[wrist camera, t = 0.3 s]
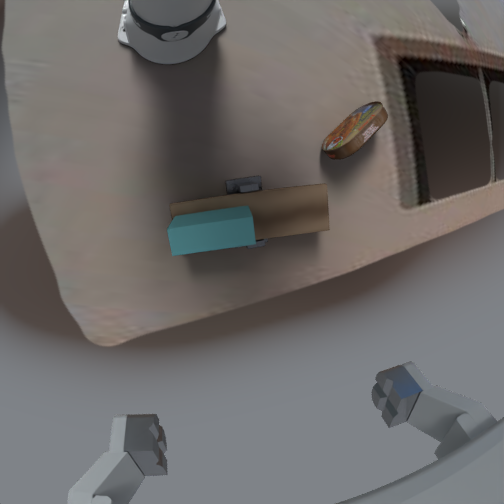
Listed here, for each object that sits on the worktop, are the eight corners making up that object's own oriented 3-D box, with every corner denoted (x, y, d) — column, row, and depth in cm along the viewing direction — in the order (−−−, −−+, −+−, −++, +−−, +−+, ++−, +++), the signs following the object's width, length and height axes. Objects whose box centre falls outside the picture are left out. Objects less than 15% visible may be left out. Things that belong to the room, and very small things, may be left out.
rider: (175, 216, 50) (167, 229, 43) (248, 205, 51) (252, 216, 43) (179, 239, 52) (172, 256, 44) (251, 229, 52) (255, 244, 45)
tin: (363, 102, 54) (388, 98, 47) (372, 114, 56) (397, 112, 48) (313, 148, 55) (335, 149, 48) (324, 161, 57) (346, 164, 49)
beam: (171, 201, 51) (169, 203, 50) (323, 181, 53) (326, 183, 51) (179, 248, 54) (178, 252, 52) (325, 228, 55) (329, 231, 54)
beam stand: (225, 180, 53) (230, 183, 49) (310, 169, 56) (322, 171, 52) (234, 246, 58) (239, 254, 53) (315, 230, 60) (326, 237, 56)
